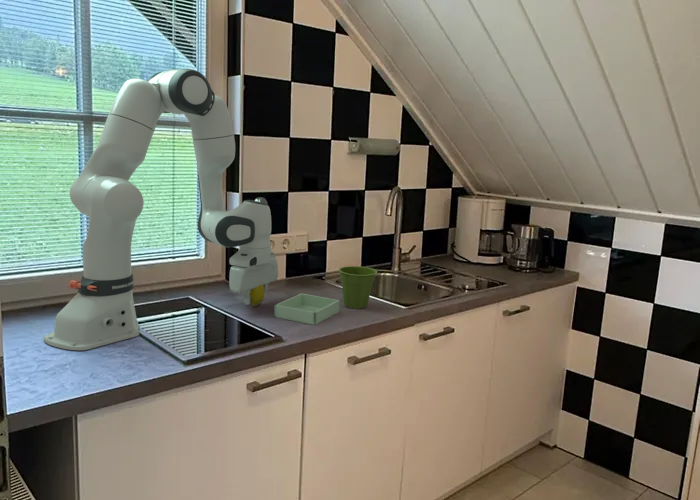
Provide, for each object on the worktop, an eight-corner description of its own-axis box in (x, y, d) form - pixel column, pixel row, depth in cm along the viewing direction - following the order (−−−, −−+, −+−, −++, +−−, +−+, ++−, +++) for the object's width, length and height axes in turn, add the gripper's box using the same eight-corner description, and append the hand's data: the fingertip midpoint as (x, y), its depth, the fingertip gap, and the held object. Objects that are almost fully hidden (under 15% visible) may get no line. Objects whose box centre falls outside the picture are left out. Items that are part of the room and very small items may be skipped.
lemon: (262, 303, 180) (262, 277, 179) (265, 308, 175) (266, 282, 174) (244, 304, 179) (244, 278, 177) (246, 309, 173) (247, 282, 172)
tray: (314, 325, 162) (315, 312, 161) (273, 316, 168) (274, 304, 167) (339, 311, 176) (340, 300, 175) (301, 304, 181) (301, 293, 180)
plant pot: (347, 313, 175) (349, 276, 172) (330, 302, 185) (331, 267, 183) (382, 309, 180) (384, 273, 178) (363, 299, 190) (365, 264, 188)
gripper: (266, 248, 184) (265, 291, 187) (225, 259, 166) (225, 307, 169) (283, 251, 182) (282, 295, 184) (244, 262, 164) (243, 310, 166)
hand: (254, 301), depth 177 cm, fingers closed on lemon, 5 cm apart
